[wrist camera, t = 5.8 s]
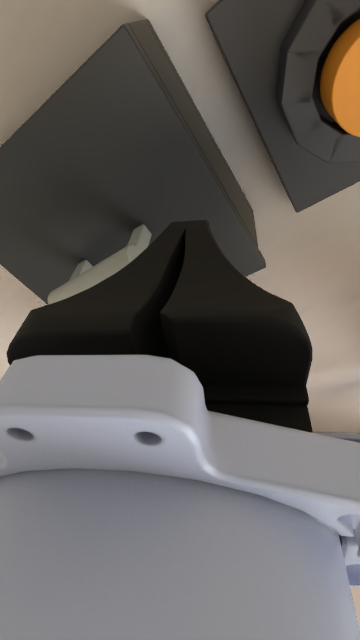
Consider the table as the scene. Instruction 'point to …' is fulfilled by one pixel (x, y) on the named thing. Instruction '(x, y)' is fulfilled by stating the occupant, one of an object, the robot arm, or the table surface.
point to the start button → (343, 80)
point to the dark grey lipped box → (193, 119)
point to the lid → (106, 178)
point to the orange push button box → (291, 87)
